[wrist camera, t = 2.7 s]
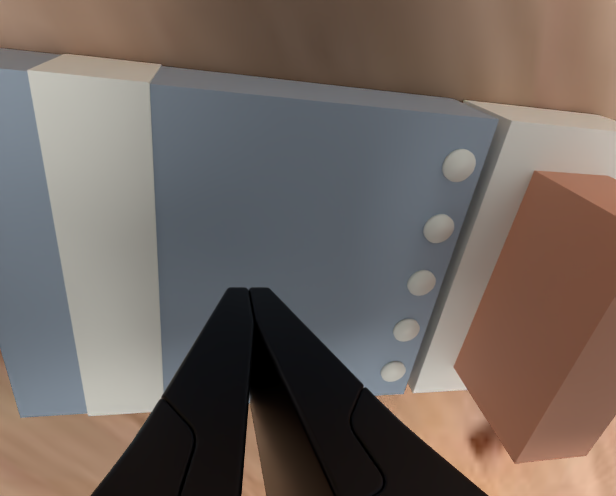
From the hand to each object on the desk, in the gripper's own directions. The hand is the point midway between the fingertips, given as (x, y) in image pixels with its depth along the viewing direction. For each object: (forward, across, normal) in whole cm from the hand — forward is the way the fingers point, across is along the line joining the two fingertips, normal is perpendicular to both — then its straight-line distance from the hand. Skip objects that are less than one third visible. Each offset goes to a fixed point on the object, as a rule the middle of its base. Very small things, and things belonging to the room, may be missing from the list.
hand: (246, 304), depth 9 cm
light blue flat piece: (+3, 0, 0) cm, 3 cm away
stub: (+3, -7, 0) cm, 8 cm away
